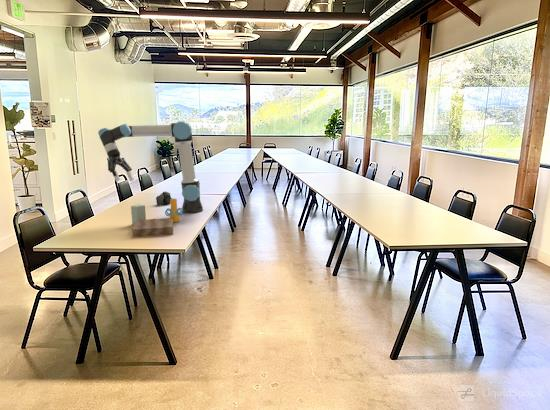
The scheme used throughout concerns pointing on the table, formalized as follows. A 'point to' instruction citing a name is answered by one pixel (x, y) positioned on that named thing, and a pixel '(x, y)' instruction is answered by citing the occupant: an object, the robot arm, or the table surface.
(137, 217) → the sage block
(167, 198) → the camera
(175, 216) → the orange post with rings
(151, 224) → the walnut block
